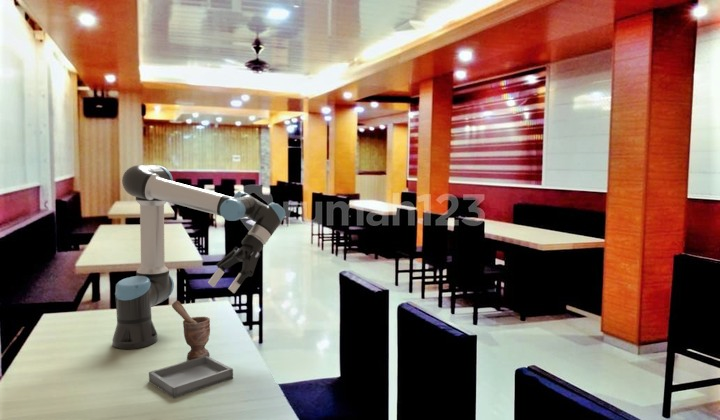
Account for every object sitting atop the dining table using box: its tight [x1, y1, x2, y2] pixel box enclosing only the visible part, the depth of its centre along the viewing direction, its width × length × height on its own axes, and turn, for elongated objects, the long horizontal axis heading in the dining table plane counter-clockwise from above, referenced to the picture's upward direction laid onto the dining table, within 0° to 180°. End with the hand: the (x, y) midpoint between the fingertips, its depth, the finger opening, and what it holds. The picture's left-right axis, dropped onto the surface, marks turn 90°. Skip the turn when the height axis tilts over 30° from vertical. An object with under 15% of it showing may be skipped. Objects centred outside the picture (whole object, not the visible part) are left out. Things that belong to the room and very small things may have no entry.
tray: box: [148, 356, 234, 399], centre depth 161 cm, size 16×19×3 cm
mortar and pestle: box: [171, 300, 211, 361], centre depth 178 cm, size 12×9×20 cm
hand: (220, 287), depth 184 cm, fingers open, 13 cm apart
